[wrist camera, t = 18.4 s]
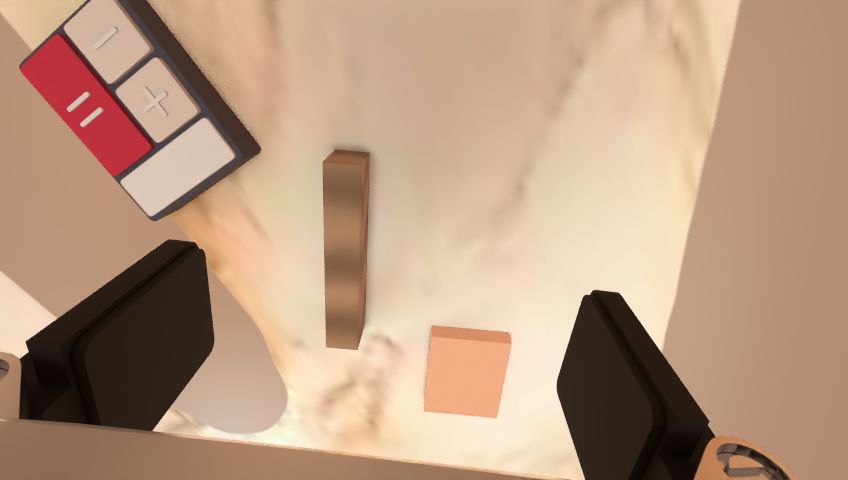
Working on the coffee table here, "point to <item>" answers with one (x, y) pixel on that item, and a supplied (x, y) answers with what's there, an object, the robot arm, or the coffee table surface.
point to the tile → (466, 371)
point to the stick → (345, 246)
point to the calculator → (139, 104)
